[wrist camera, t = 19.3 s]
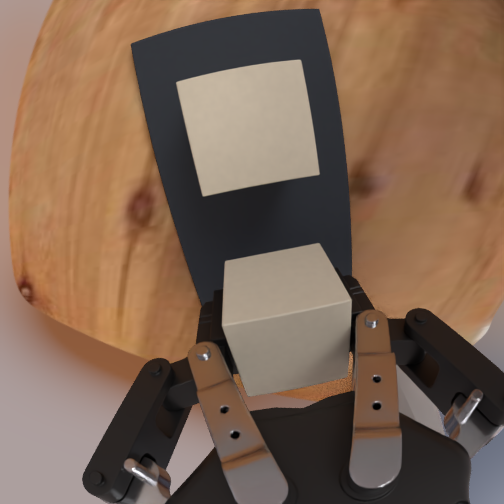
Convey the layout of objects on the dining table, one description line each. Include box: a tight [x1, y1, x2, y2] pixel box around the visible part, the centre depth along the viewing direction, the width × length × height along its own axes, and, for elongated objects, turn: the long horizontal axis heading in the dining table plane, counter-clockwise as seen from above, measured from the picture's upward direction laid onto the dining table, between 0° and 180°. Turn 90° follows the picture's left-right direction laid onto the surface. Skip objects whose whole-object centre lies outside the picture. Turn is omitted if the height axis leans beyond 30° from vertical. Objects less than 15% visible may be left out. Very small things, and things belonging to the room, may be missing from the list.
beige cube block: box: [222, 243, 352, 397], centre depth 12 cm, size 4×5×4 cm
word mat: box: [131, 9, 352, 307], centre depth 15 cm, size 20×10×1 cm, turn 11°
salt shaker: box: [396, 365, 445, 435], centre depth 17 cm, size 6×6×13 cm
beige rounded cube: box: [176, 60, 320, 196], centre depth 11 cm, size 4×5×4 cm
